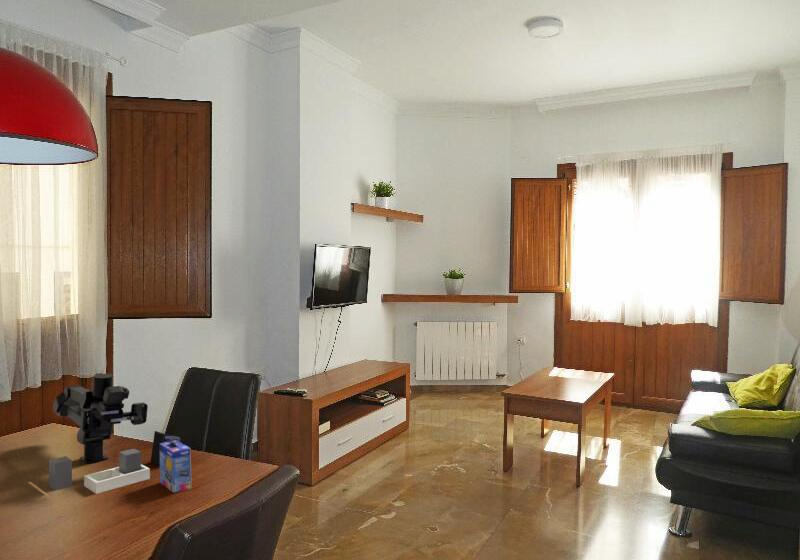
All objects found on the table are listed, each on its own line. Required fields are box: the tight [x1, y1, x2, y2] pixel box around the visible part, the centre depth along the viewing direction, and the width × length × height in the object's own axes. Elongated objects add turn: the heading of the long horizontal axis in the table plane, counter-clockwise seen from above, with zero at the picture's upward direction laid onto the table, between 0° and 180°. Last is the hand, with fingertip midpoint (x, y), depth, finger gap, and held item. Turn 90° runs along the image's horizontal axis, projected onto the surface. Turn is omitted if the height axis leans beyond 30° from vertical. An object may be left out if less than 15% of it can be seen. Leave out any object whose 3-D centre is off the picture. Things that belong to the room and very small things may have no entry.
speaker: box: [150, 430, 181, 467], centre depth 187 cm, size 8×6×10 cm
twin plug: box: [118, 448, 142, 474], centre depth 173 cm, size 4×4×8 cm
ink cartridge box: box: [159, 437, 192, 493], centre depth 169 cm, size 10×6×14 cm, turn 45°
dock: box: [83, 463, 151, 495], centre depth 170 cm, size 8×15×4 cm, turn 140°
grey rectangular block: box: [48, 455, 73, 491], centre depth 167 cm, size 4×4×8 cm
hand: (126, 424), depth 172 cm, fingers open, 9 cm apart
